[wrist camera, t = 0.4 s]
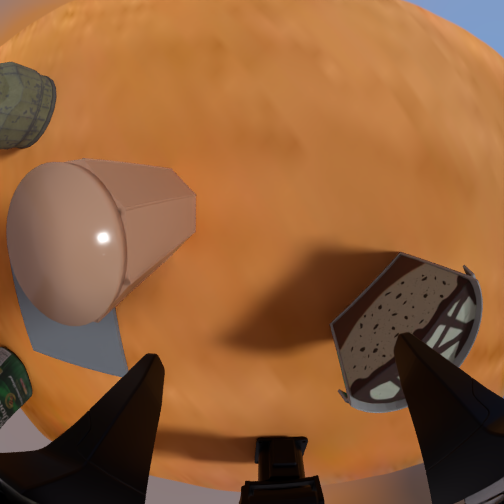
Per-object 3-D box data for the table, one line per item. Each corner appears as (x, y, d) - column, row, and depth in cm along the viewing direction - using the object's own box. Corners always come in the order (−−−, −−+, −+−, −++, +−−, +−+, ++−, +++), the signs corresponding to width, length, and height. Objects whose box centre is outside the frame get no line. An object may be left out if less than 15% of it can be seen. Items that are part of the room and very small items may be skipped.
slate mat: (129, 375, 26) (127, 378, 26) (35, 348, 26) (33, 350, 26) (106, 234, 22) (103, 235, 22) (9, 233, 22) (6, 234, 22)
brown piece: (196, 256, 22) (130, 339, 10) (120, 252, 23) (20, 313, 10) (197, 168, 21) (117, 150, 8) (117, 171, 21) (3, 172, 8)
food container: (354, 365, 25) (386, 435, 15) (317, 334, 24) (344, 410, 14) (438, 281, 23) (501, 324, 13) (410, 240, 22) (482, 273, 12)
